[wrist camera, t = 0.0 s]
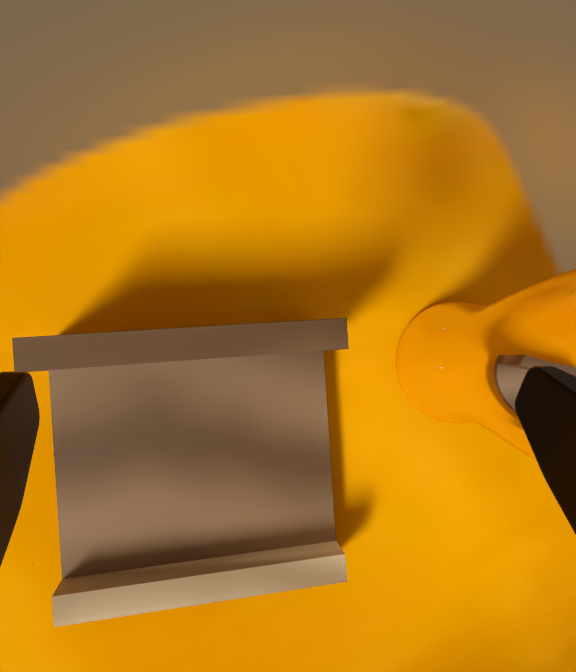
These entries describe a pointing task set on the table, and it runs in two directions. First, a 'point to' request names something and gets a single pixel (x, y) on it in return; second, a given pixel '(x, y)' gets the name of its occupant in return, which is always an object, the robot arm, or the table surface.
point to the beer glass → (488, 355)
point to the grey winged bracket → (189, 464)
